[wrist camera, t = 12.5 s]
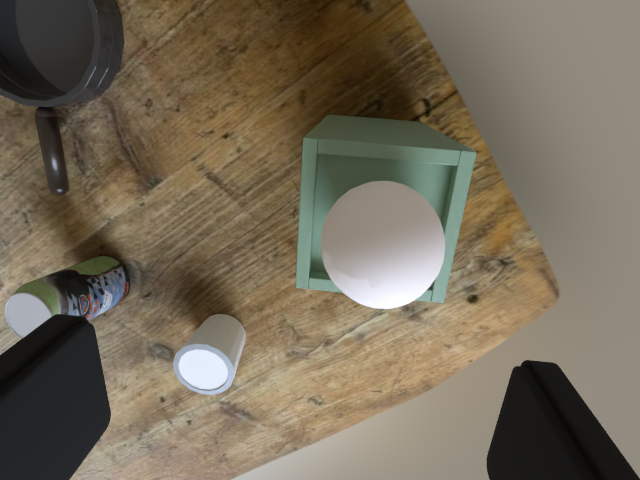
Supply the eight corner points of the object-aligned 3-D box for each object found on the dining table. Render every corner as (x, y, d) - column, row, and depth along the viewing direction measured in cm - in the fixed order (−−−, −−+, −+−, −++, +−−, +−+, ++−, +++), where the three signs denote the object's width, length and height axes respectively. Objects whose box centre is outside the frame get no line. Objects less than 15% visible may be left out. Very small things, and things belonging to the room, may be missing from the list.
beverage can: (112, 305, 49) (40, 370, 38) (69, 260, 47) (-20, 314, 36) (147, 282, 47) (82, 342, 36) (104, 234, 45) (21, 281, 34)
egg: (416, 274, 24) (441, 353, 17) (319, 257, 24) (303, 328, 17) (442, 178, 22) (484, 222, 15) (335, 160, 22) (324, 195, 15)
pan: (-36, -68, 35) (-83, -86, 31) (115, -59, 34) (86, -77, 31) (0, 99, 40) (-36, 100, 37) (132, 110, 40) (109, 112, 36)
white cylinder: (243, 306, 47) (225, 341, 41) (256, 353, 49) (241, 393, 43) (190, 312, 48) (164, 347, 42) (205, 357, 50) (183, 397, 44)
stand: (328, 114, 38) (303, 137, 20) (420, 121, 38) (476, 151, 20) (321, 202, 41) (294, 287, 24) (406, 210, 41) (443, 303, 23)
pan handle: (42, 104, 38) (27, 105, 36) (60, 106, 38) (46, 107, 36) (58, 192, 41) (45, 196, 40) (74, 193, 41) (62, 198, 40)
